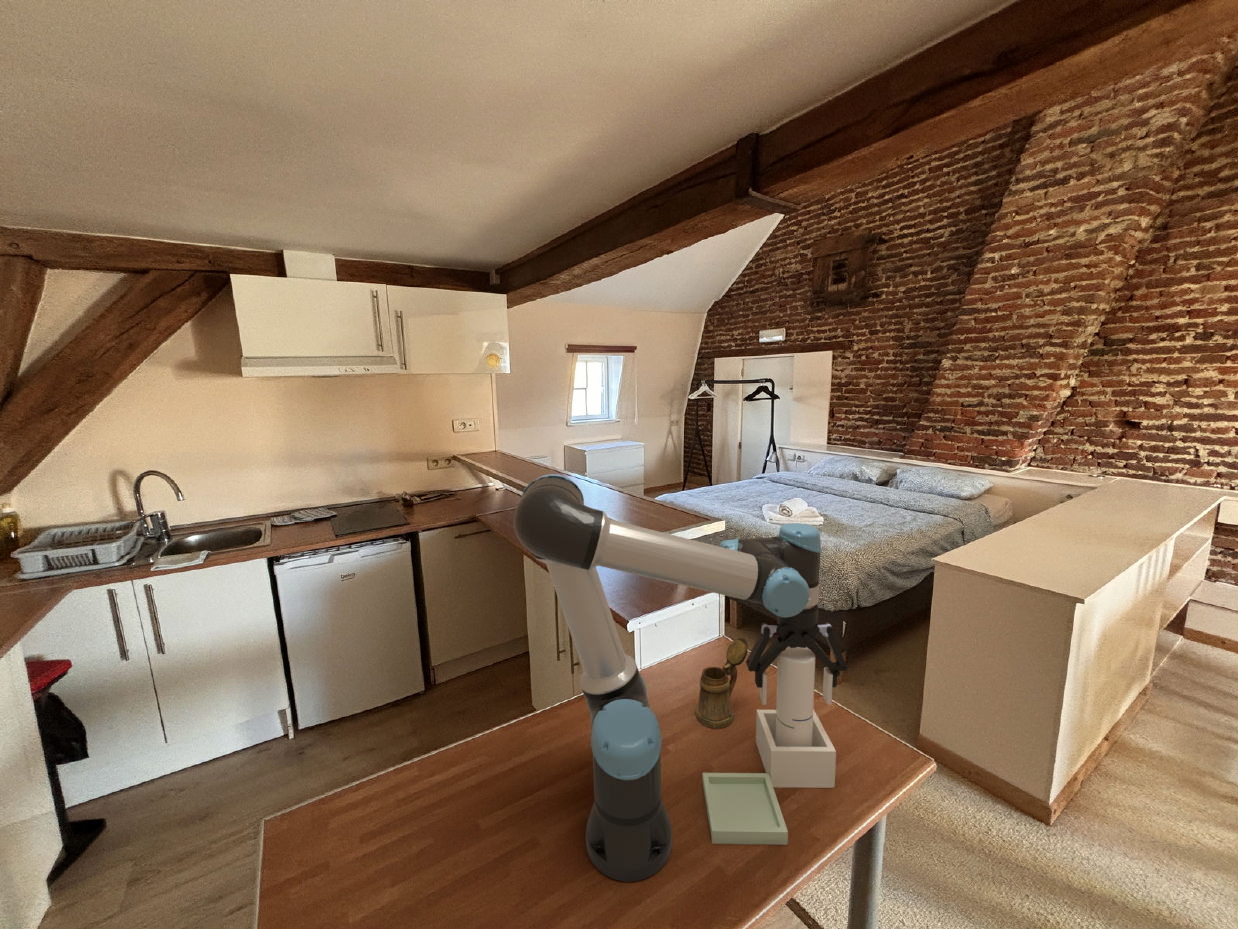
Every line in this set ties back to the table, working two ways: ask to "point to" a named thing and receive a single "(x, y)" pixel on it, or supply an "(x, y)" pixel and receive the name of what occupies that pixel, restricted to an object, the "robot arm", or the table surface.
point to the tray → (743, 809)
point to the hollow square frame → (796, 756)
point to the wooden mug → (720, 688)
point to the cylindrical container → (795, 697)
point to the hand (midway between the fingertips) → (794, 700)
